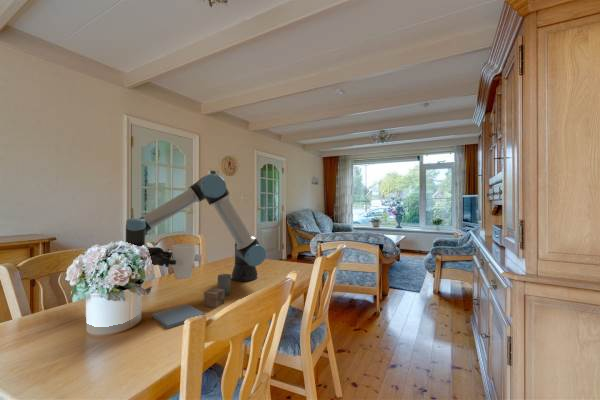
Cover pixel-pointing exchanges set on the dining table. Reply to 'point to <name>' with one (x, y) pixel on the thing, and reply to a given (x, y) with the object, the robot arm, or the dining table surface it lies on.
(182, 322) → the slate board
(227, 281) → the charcoal cylinder
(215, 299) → the walnut block
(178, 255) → the foam cup
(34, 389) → the dining table surface
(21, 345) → the dining table surface
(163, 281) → the dining table surface
